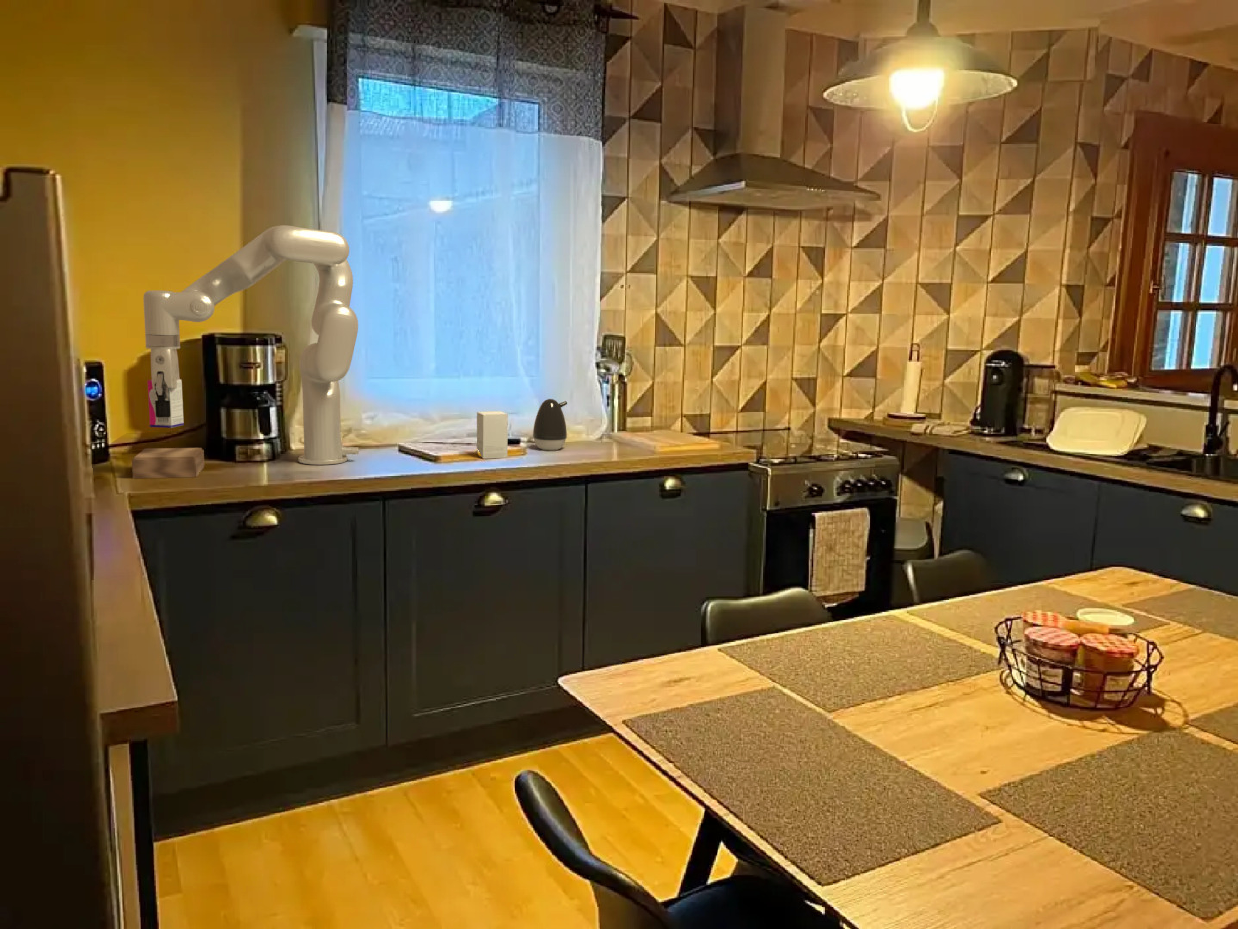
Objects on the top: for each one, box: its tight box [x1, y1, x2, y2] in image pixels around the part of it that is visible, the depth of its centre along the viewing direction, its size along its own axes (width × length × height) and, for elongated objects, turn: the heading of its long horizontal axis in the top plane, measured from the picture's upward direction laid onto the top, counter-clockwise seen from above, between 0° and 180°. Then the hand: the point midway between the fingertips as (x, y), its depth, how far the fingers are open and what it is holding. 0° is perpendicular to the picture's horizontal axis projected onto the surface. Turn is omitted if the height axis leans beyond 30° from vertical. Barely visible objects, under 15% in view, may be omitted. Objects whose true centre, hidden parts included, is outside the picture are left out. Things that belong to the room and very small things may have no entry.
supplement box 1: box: [147, 379, 185, 429], centre depth 236 cm, size 6×6×12 cm
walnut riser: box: [131, 447, 205, 479], centre depth 239 cm, size 14×14×5 cm
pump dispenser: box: [532, 398, 568, 452], centre depth 290 cm, size 10×10×15 cm
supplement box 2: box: [476, 410, 509, 460], centre depth 274 cm, size 7×7×13 cm
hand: (166, 414), depth 237 cm, fingers closed on supplement box 1, 7 cm apart
